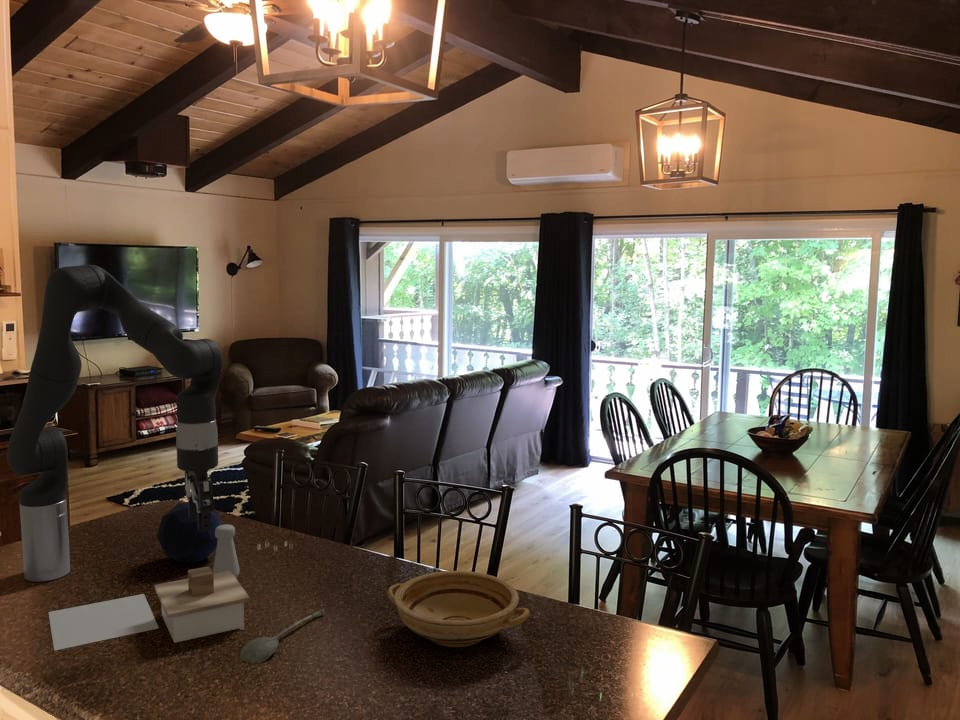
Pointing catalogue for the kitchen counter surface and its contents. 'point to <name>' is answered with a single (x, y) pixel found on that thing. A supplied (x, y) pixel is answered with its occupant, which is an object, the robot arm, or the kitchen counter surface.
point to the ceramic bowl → (457, 606)
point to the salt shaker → (225, 551)
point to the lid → (200, 592)
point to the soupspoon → (268, 643)
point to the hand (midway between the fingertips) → (199, 524)
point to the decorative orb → (186, 535)
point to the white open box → (205, 622)
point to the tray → (101, 621)
